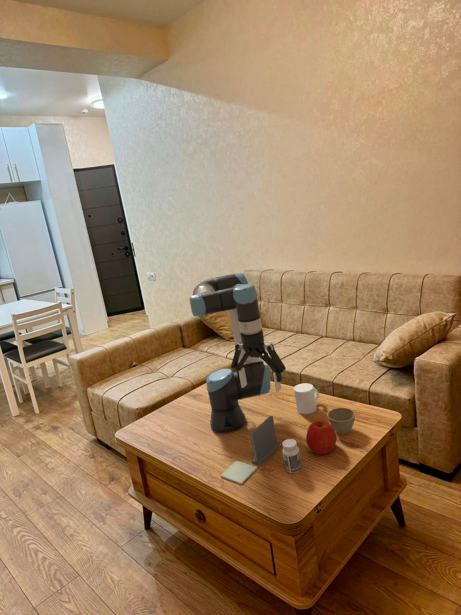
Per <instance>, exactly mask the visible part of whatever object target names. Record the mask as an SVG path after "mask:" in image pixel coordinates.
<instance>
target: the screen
mask: <svg viewBox="0 0 461 615" xmlns="http://www.w3.org/2000/svg"><path fill="white" fill-rule="evenodd" d="M274 420H275V419H274V416H273V415H269V416H268V417H267V418H266V419H265V420H264V421H263V422H261V423H260V424H259V425H258V426H257V427H256V428H254V430H252V431H251V433H250V434H249V435H250V442H251V448H252V454H253V458H252V460H251V463H252V464H254V465H258V466H263V465H264V464H265V463H266V461H267V460H268V459H270V457H271V456H272V455H273V454H274V453H275V452H276V451H277V450H278V449H279V448H280V447H281V443H280V442H278V439H277V433H276V426H275V421H274Z"/></svg>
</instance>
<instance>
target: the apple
mask: <svg viewBox="0 0 461 615" xmlns="http://www.w3.org/2000/svg"><path fill="white" fill-rule="evenodd" d="M337 435H338V434H337V432H336V431H335V430H334V428H333V427H332V425H331V424H330V422H329V421H327V420H324V419H317V420H314V421H312V422H311V424H309V427H308V428H307V432H306V439H305V440H306V441H305V442H306V445H307V447H308V449H309V450H310V451H311V452H312V453H313V454H316V455H322V456H323V455H326V454H328V453H331V452H332V451H333V449H334V448H335V447H336V444H337V439H338V436H337Z"/></svg>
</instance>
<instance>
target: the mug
mask: <svg viewBox="0 0 461 615" xmlns="http://www.w3.org/2000/svg"><path fill="white" fill-rule="evenodd" d="M293 391H294V392H293V393H294V399H295V406H296V411H297V413H299V414H301V415H311V414H313V413H315V412H316V411H317V409H318V408H317V403H316V402H317V400H319V397H320V392H319V390H318V389H317V388H315V387H314V385H313V384H312V383H306V382H304V383H299V384H297V385H295V386H294V387H293Z"/></svg>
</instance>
